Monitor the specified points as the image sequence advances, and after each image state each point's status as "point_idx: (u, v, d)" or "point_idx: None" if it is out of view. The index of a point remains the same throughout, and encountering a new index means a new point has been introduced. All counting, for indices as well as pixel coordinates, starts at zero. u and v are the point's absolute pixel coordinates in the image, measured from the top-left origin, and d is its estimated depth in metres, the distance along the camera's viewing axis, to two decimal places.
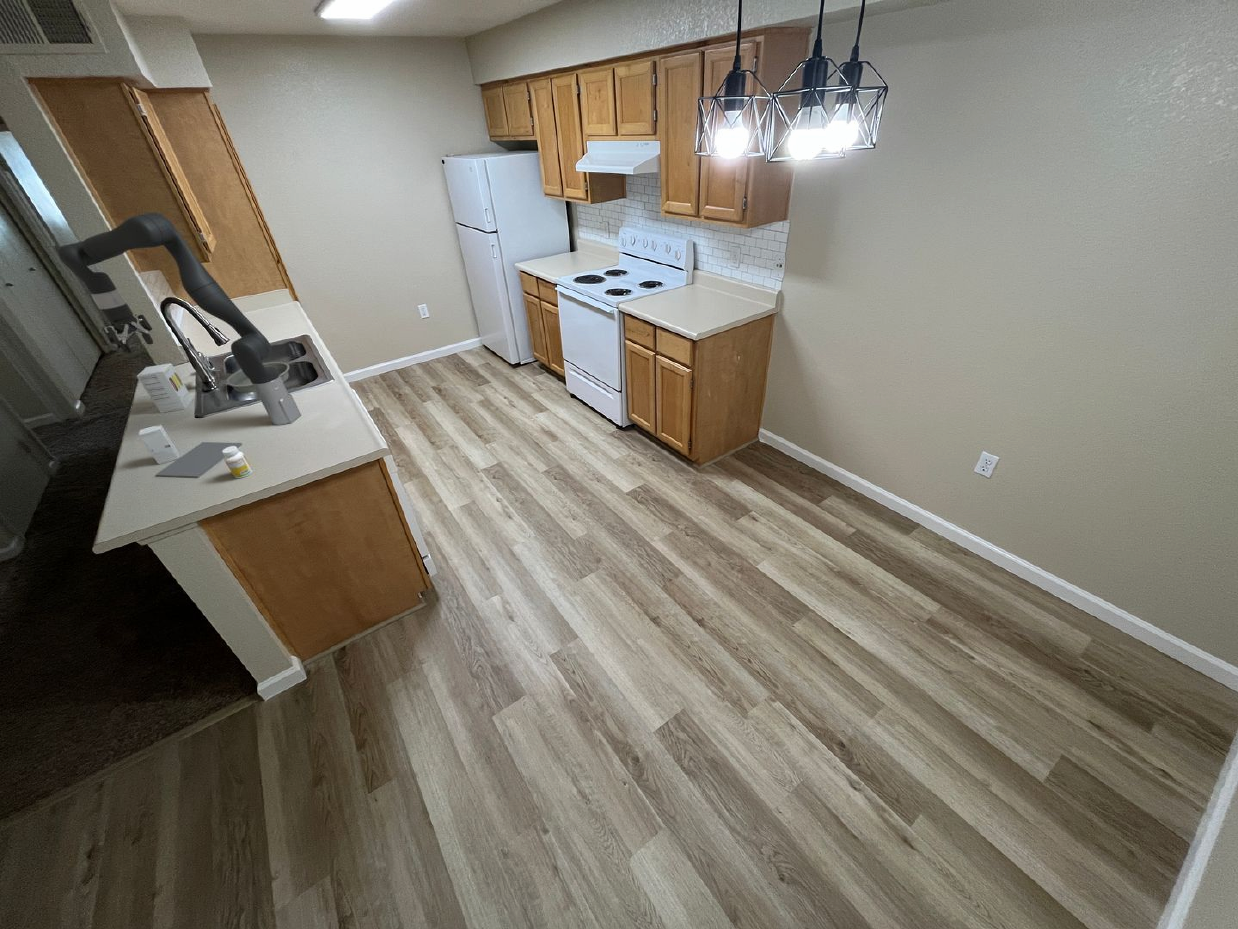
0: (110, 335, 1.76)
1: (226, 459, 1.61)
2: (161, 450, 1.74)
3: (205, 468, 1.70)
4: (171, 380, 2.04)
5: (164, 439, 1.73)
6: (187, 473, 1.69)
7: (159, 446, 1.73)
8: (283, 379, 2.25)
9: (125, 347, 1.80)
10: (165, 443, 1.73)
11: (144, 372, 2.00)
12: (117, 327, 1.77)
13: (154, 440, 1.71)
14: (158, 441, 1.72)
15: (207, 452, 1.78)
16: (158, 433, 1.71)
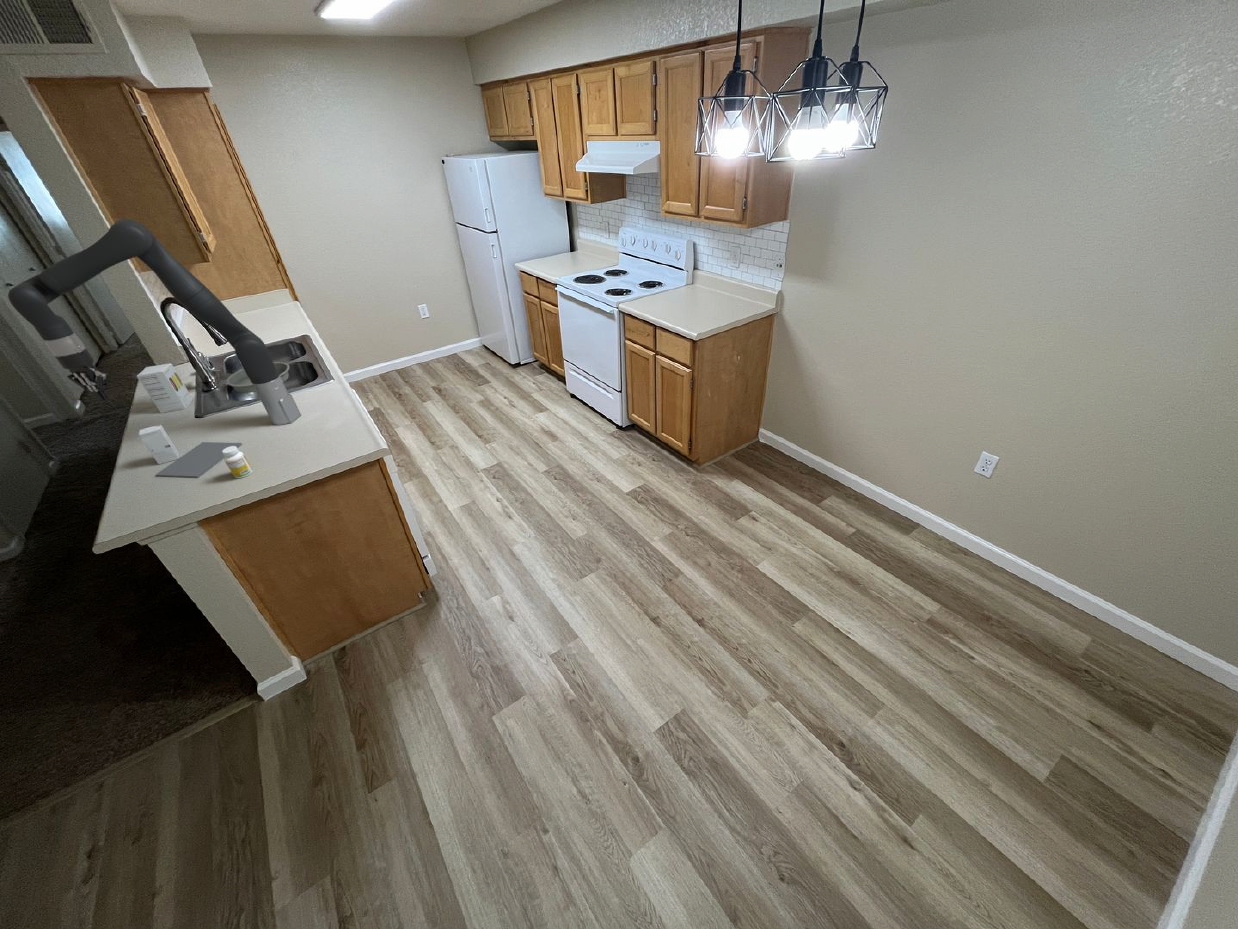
0: None
1: (226, 459, 1.61)
2: (161, 450, 1.74)
3: (205, 468, 1.70)
4: (171, 380, 2.04)
5: (164, 439, 1.73)
6: (187, 473, 1.69)
7: (159, 446, 1.73)
8: (283, 379, 2.25)
9: (95, 394, 1.64)
10: (165, 443, 1.73)
11: (144, 372, 2.00)
12: None
13: (154, 440, 1.71)
14: (158, 441, 1.72)
15: (207, 452, 1.78)
16: (158, 433, 1.71)
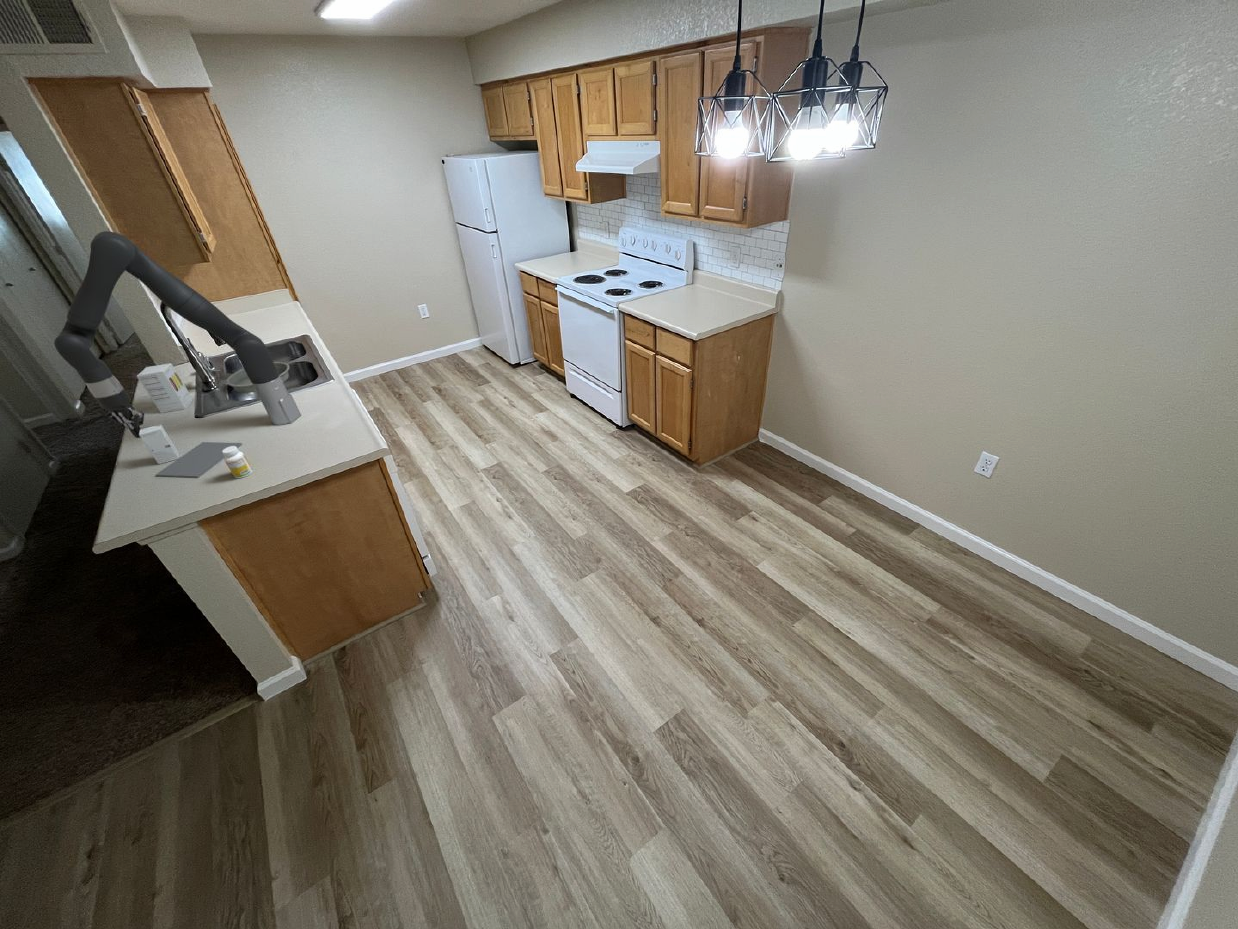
0: None
1: (226, 459, 1.61)
2: (161, 450, 1.74)
3: (205, 468, 1.70)
4: (171, 380, 2.04)
5: (164, 439, 1.73)
6: (187, 473, 1.69)
7: (159, 446, 1.73)
8: (283, 379, 2.25)
9: (131, 431, 1.72)
10: (165, 443, 1.73)
11: (144, 372, 2.00)
12: (110, 412, 1.67)
13: (154, 440, 1.71)
14: (158, 440, 1.72)
15: (207, 452, 1.78)
16: (159, 433, 1.71)
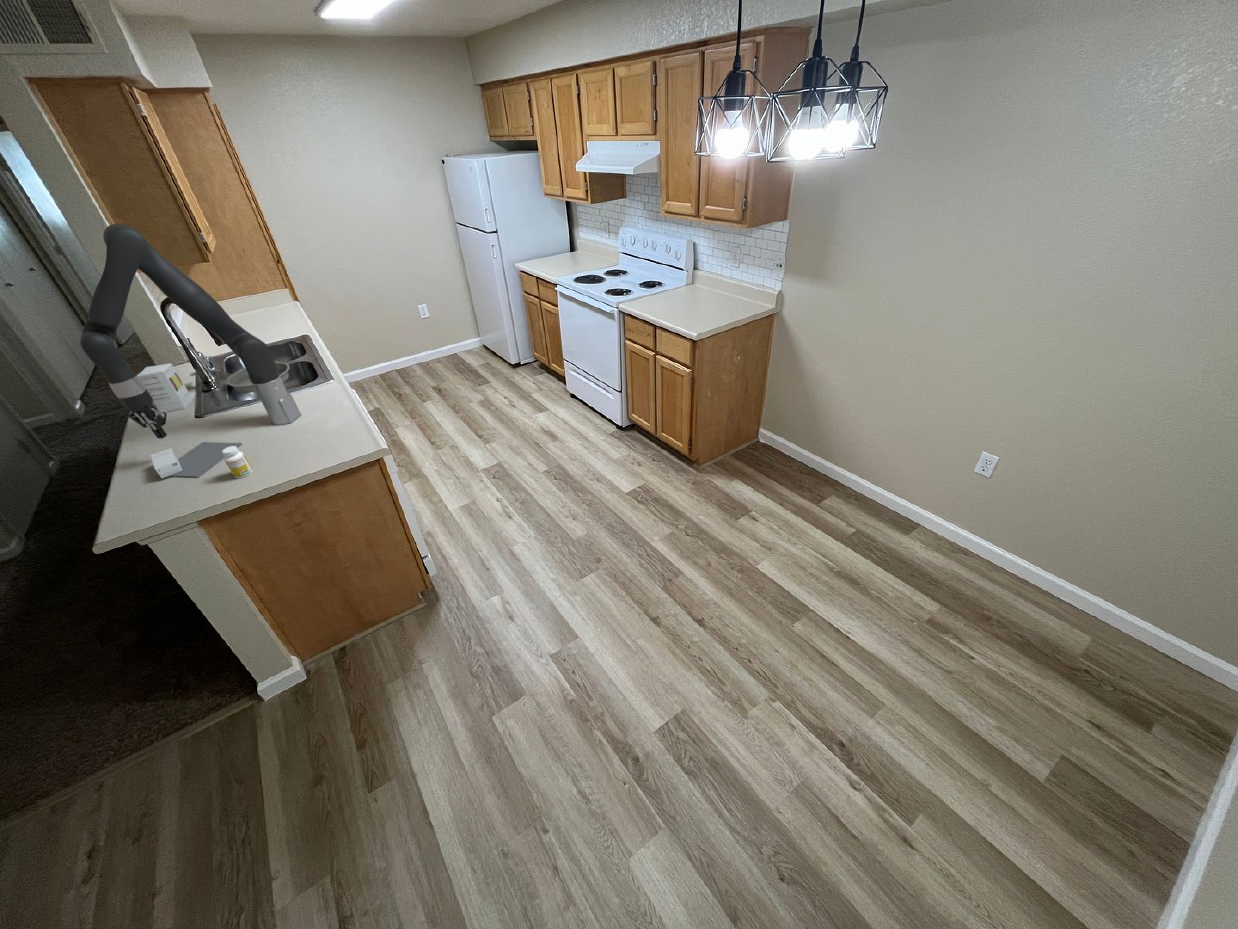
0: None
1: (226, 459, 1.61)
2: None
3: (205, 468, 1.70)
4: (171, 380, 2.04)
5: None
6: (187, 473, 1.69)
7: None
8: (283, 379, 2.25)
9: (153, 432, 1.71)
10: None
11: (144, 372, 2.00)
12: (133, 412, 1.66)
13: None
14: None
15: (207, 452, 1.78)
16: None
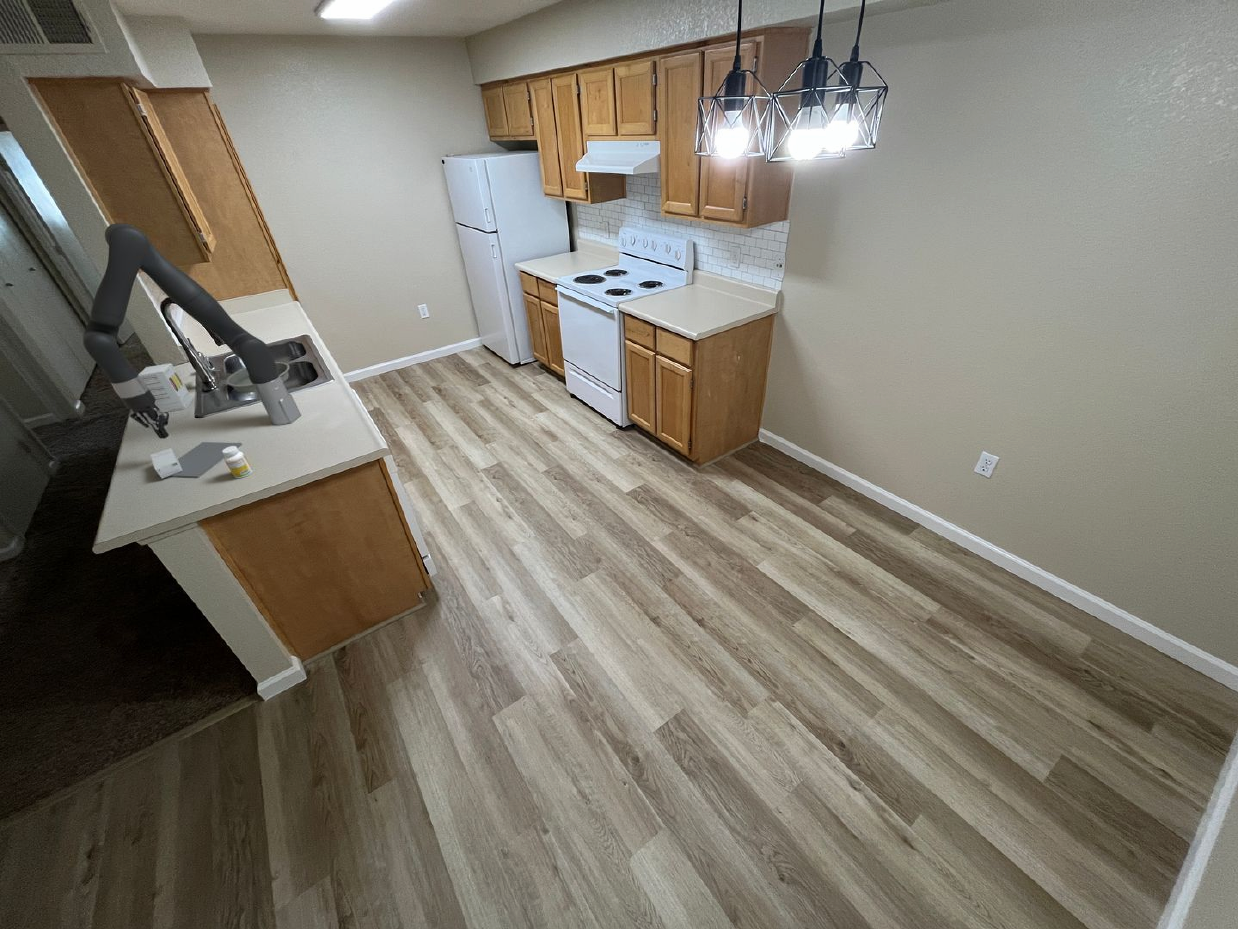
0: None
1: (226, 459, 1.61)
2: None
3: (205, 468, 1.70)
4: (171, 380, 2.04)
5: None
6: (187, 473, 1.69)
7: None
8: (283, 379, 2.25)
9: (155, 432, 1.70)
10: None
11: (144, 372, 2.00)
12: (135, 412, 1.66)
13: None
14: None
15: (207, 452, 1.78)
16: None
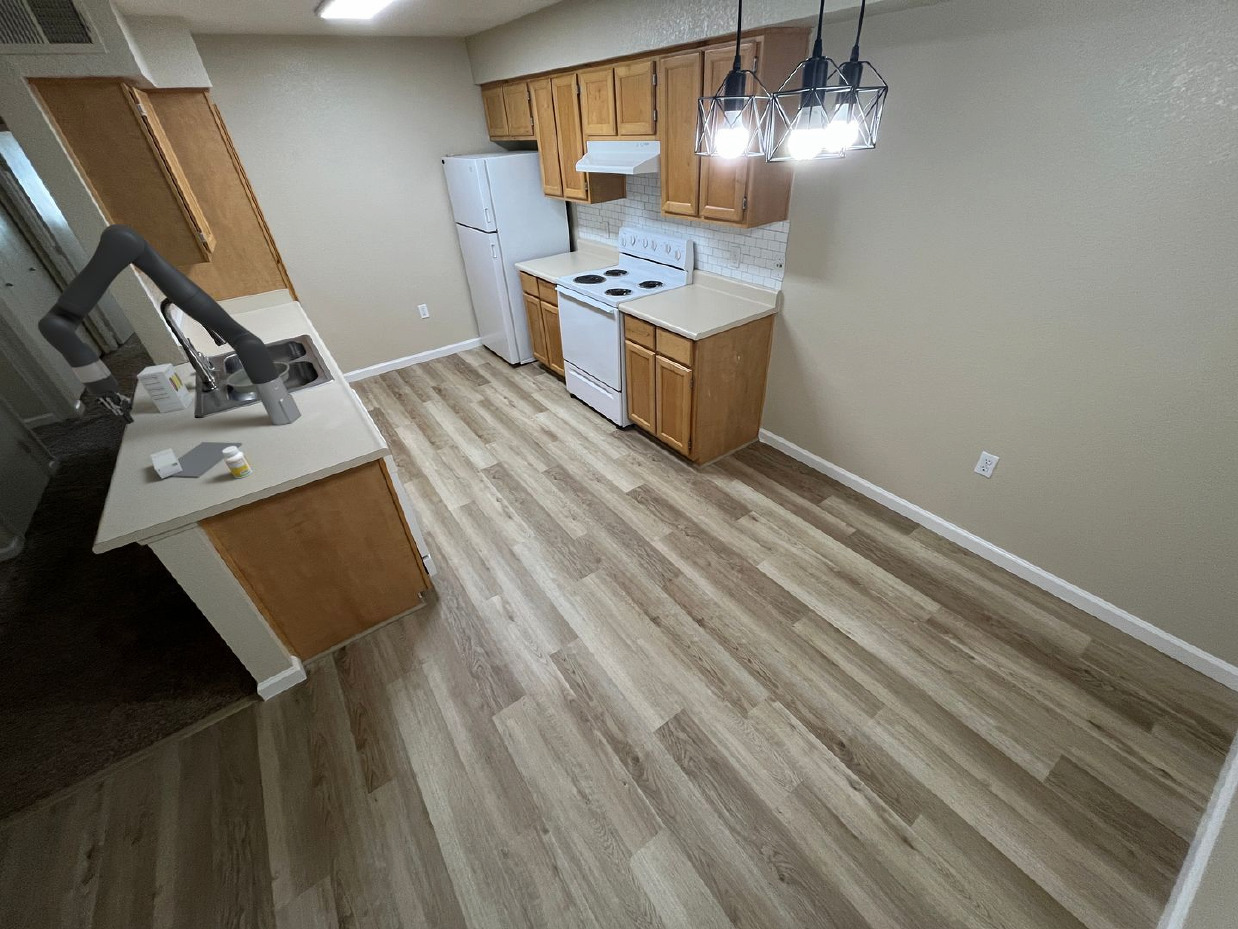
0: None
1: (226, 459, 1.61)
2: None
3: (205, 468, 1.70)
4: (171, 380, 2.04)
5: None
6: (187, 473, 1.69)
7: None
8: (283, 379, 2.25)
9: (120, 417, 1.69)
10: None
11: (144, 372, 2.00)
12: (98, 397, 1.64)
13: None
14: None
15: (207, 452, 1.78)
16: None
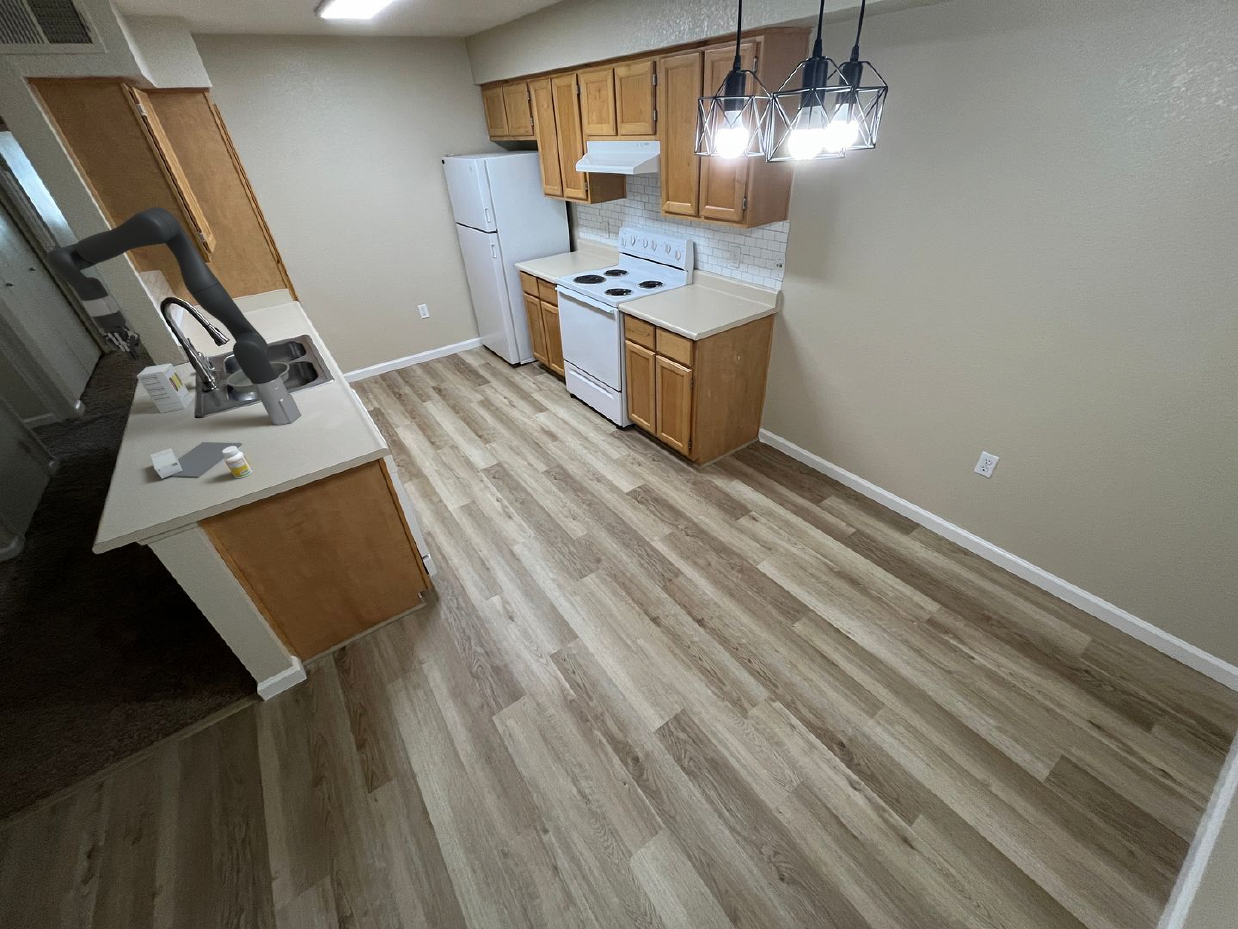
0: None
1: (226, 459, 1.61)
2: None
3: (205, 468, 1.70)
4: (171, 380, 2.04)
5: None
6: (187, 473, 1.69)
7: None
8: (283, 379, 2.25)
9: (127, 354, 1.76)
10: None
11: (144, 372, 2.00)
12: (106, 333, 1.72)
13: None
14: None
15: (207, 452, 1.78)
16: None
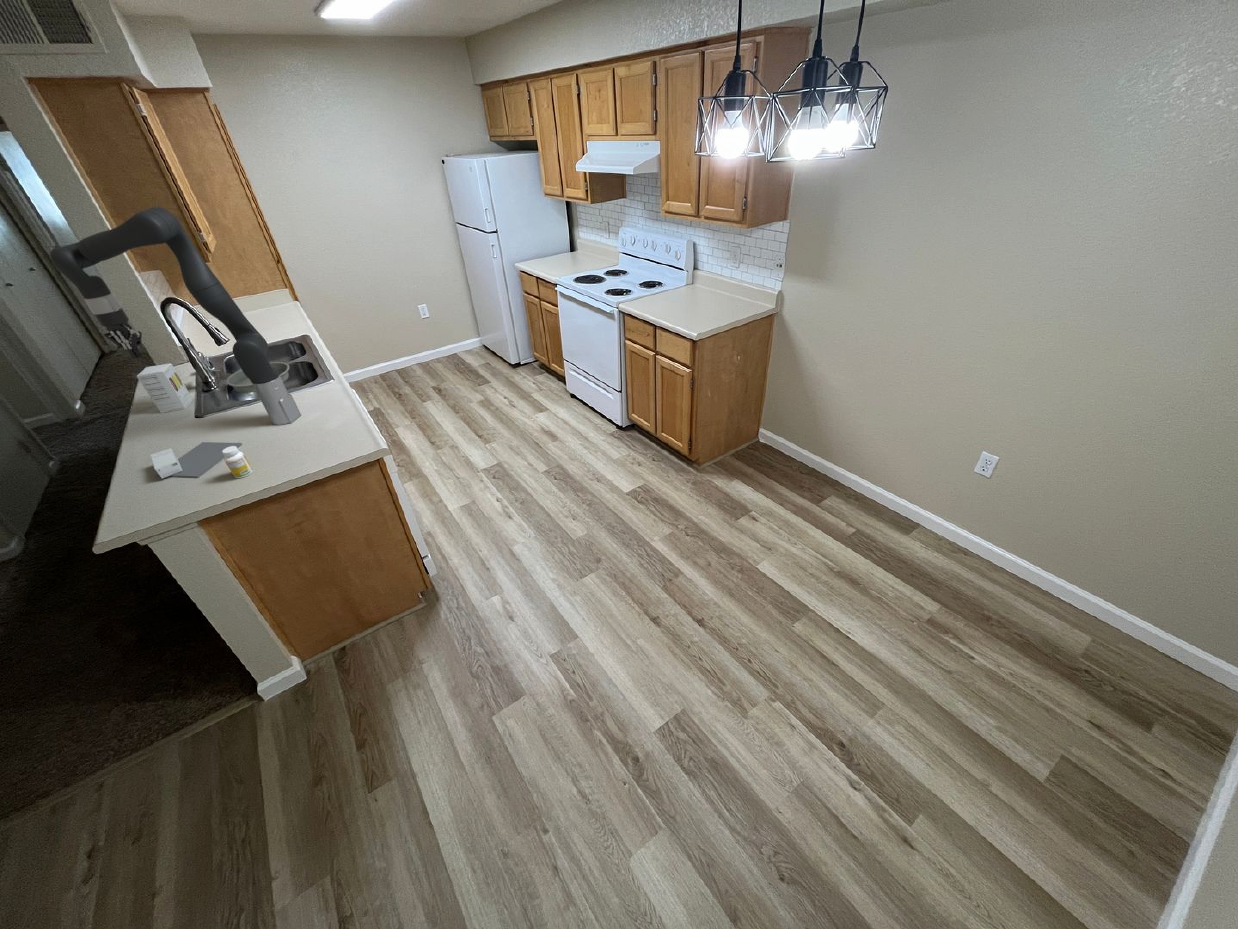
0: None
1: (226, 459, 1.61)
2: None
3: (205, 468, 1.70)
4: (171, 380, 2.04)
5: None
6: (187, 473, 1.69)
7: None
8: (283, 379, 2.25)
9: None
10: None
11: (144, 372, 2.00)
12: (109, 331, 1.73)
13: None
14: None
15: (207, 452, 1.78)
16: None
